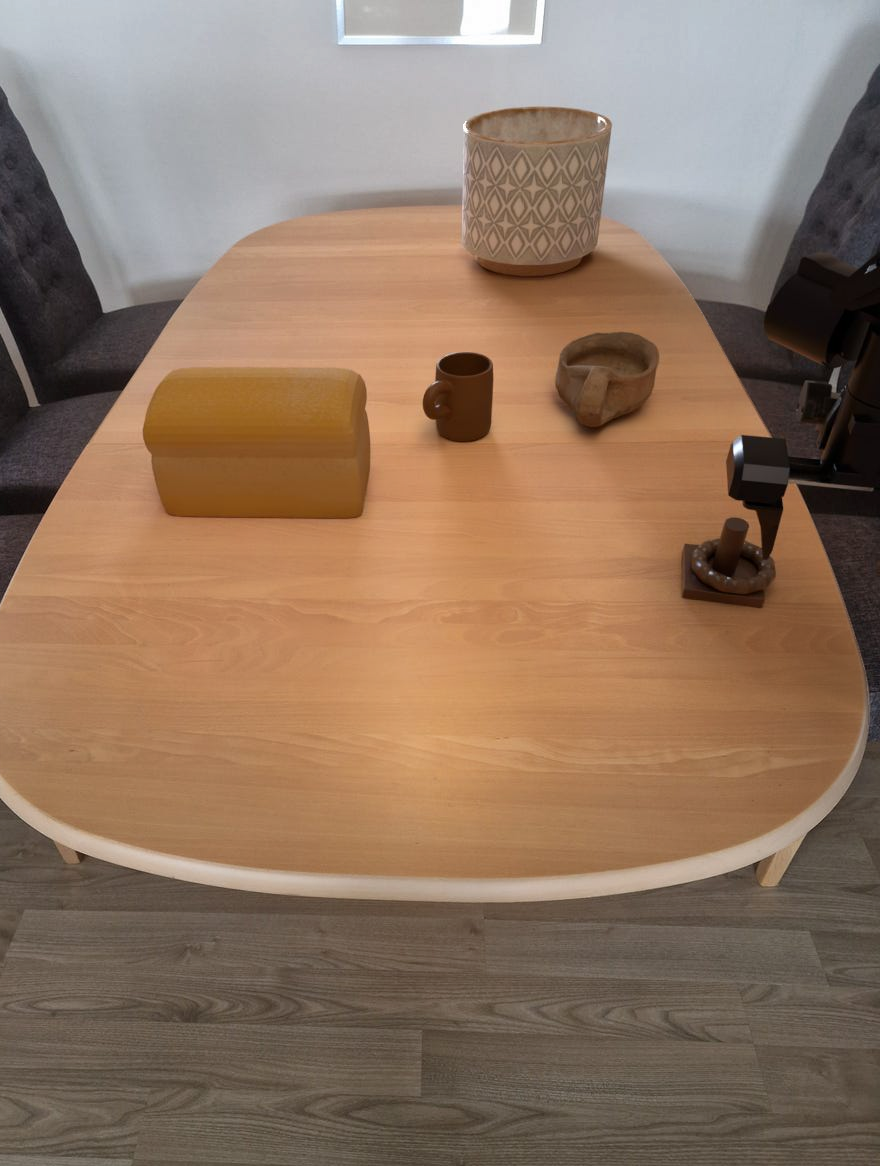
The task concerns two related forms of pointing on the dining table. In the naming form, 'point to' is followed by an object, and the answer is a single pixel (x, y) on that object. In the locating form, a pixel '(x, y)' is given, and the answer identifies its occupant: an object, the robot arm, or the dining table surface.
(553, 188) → the planter
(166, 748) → the dining table surface
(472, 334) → the dining table surface
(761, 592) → the stand
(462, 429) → the mug
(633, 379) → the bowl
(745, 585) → the ring
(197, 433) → the bread
